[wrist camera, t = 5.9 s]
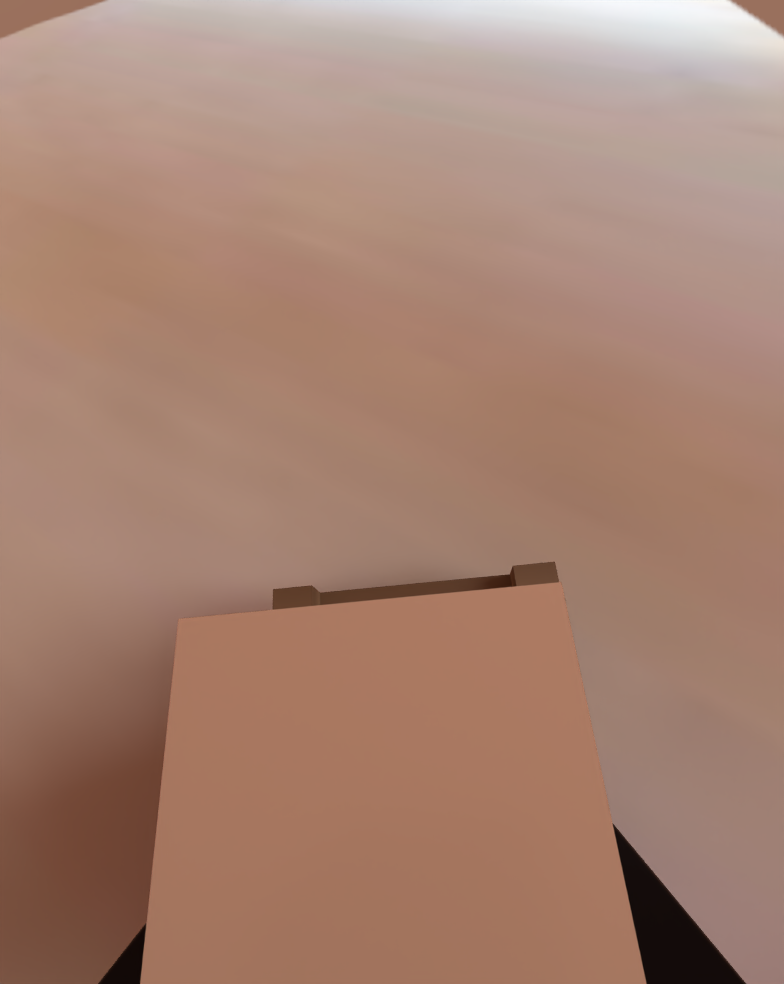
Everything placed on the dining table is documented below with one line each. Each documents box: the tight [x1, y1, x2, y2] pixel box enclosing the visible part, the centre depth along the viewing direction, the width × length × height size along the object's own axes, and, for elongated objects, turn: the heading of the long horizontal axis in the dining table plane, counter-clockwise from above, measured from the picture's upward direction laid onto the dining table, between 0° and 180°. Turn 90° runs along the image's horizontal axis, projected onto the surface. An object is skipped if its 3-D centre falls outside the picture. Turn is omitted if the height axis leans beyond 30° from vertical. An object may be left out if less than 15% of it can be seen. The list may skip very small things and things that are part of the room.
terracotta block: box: [140, 582, 646, 984], centre depth 9 cm, size 8×4×10 cm, turn 4°
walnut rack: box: [273, 562, 559, 610], centre depth 14 cm, size 13×9×4 cm
